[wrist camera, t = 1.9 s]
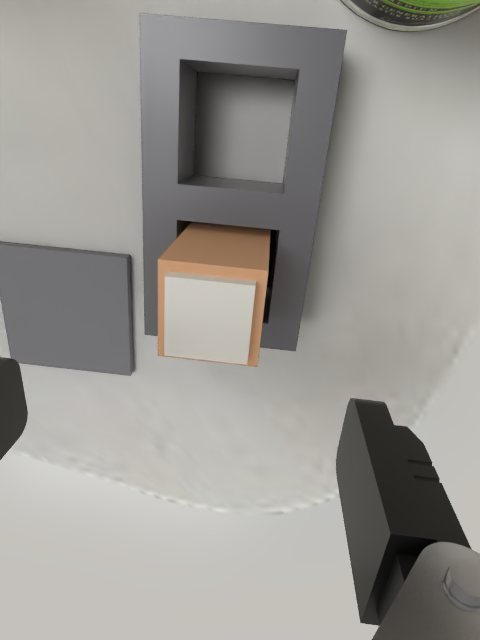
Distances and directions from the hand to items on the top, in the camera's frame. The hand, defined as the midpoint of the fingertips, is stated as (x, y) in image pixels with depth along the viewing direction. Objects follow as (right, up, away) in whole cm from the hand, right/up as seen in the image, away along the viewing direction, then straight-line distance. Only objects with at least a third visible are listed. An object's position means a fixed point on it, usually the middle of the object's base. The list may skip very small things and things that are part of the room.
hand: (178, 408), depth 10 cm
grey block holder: (+1, +9, +12) cm, 15 cm away
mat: (-9, +3, +16) cm, 19 cm away
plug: (+1, +6, +14) cm, 15 cm away
